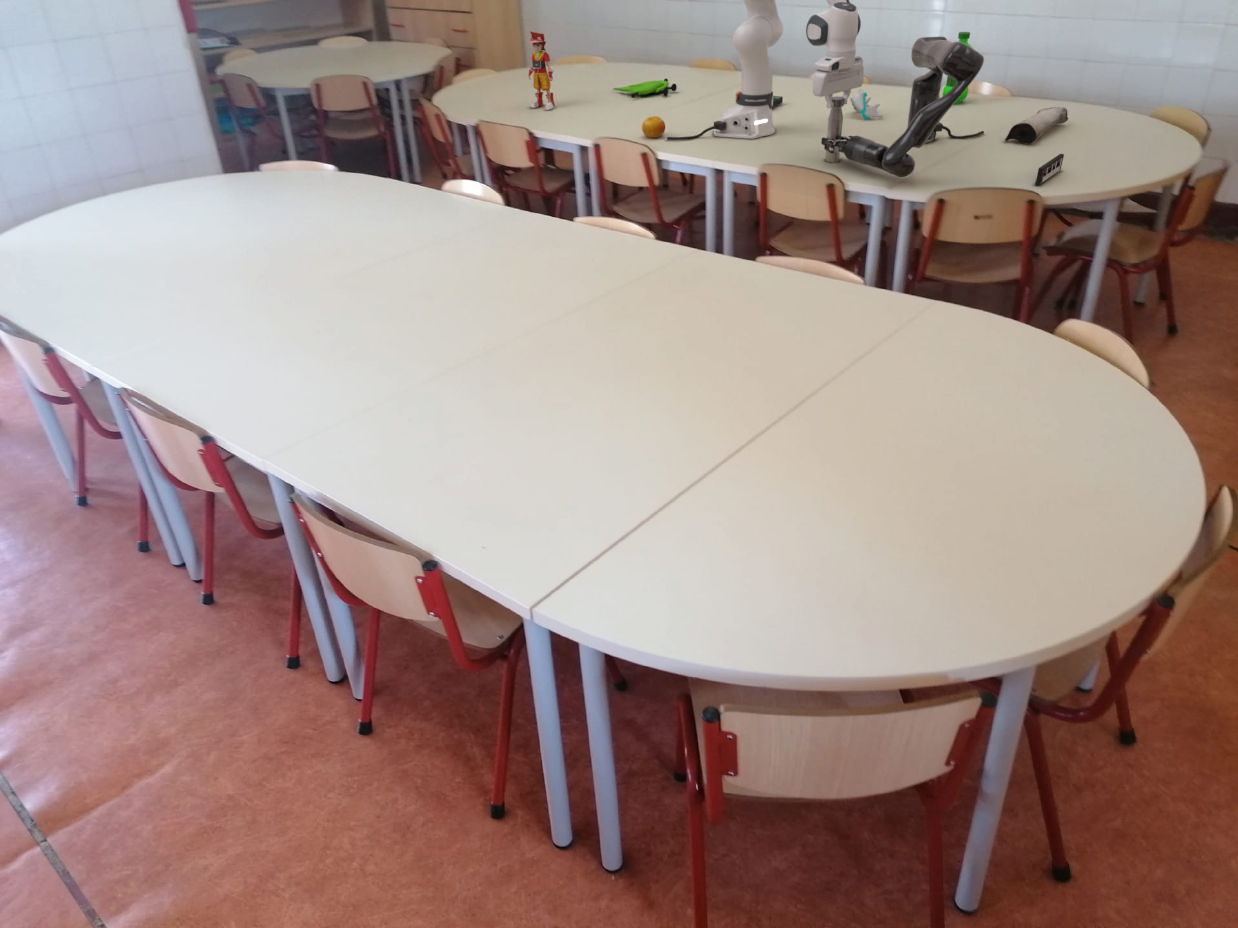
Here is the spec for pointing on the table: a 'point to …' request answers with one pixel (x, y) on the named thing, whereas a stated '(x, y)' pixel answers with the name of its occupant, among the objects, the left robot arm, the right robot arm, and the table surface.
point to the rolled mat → (1037, 125)
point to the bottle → (834, 131)
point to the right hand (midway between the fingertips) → (828, 139)
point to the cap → (838, 101)
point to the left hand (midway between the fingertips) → (836, 106)
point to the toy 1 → (541, 71)
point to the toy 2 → (648, 88)
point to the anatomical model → (864, 105)
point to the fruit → (653, 127)
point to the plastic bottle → (951, 82)
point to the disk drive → (777, 101)
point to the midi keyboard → (1049, 169)
